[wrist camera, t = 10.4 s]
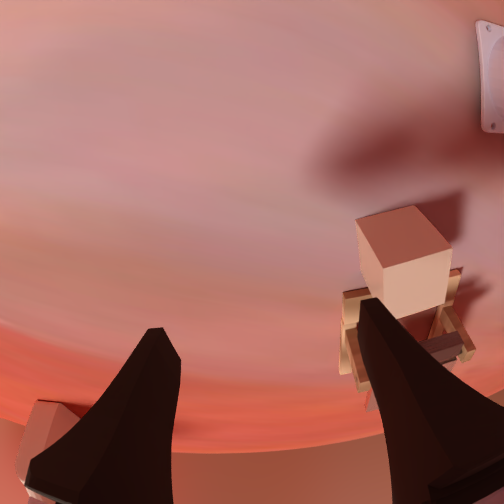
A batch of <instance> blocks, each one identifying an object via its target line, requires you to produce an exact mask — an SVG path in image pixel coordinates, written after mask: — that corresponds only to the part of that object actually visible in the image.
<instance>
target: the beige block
mask: <svg viewBox="0 0 504 504" xmlns="http://www.w3.org/2000/svg"><path fill="white" fill-rule="evenodd" d="M355 223H356V231H357V239H358V248H359V258H360V268H361V273H362V275H363V277H364V279H365V282H366V284H367V286H368V288H369V291H370V293H371V295H372V297H373V298H374V297H377V298H378V299H379V300H380V301H381V302H382V303H383V304H384V305H385V307H386V308H387V309H388V310H389V311H390V312H391V314H392V315H393V316H394V317H395V318H396V319H399V318H402V317H405V316H408V315H411V314H414V313H418V312H421V311H424V310H426V309H429V308H432V307H435V306H438V305H441V304H444V303H445V297H446V292H447V286H448V279H449V273H450V266H451V258H452V250H453V248H452V247H451V245H450V244H449V243H448V242H447V241H446V239H445V238H444V237H443V236H442V235H441V234H440V233H439V231H438V230H437V229H436V228H435V227H434V226H433V225H432V224H431V223H430V221H429V220H428V219H427V218H426V217H425V216H424V215H423V214H422V213H421V212H420V211H419V210H418V209H417V207H416V206H415V205H412V206H408V207H404V208H400V209H396V210H392V211H388V212H384V213H380V214H376V215H372V216H368V217H364V218H360V219H356V220H355Z"/></svg>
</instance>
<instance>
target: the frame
mask: <svg viewBox="0 0 504 504" xmlns="http://www.w3.org/2000/svg"><path fill="white" fill-rule="evenodd" d="M460 277H461V274H460V272H459V271H458V270H457V269H455V270H451V271H450V273H449V279H448V286H447V292H446V297H445V303H444V304H441V305H438V308H437V311H436V315H435V318H434V321H433V324H432V327H431V330H430V333H429V336H428V339H430V338H434V337H437V336H441V335H442V334H443V331H444V330H445V331H446V333H451V332H454V331H458V333H459V334H460V336H461V338H462V340H463V342H464V345H463V347H462V349H461V351H460V353H459V355H458V357H459V359H460V361H461V363H464V362H466V361H469V360H471V358H472V356H473V354H474V352H475V350H476V348H475V346H474V344H473V342H472V340H471V338H470V337H469V335H468V333H467V331H466V330H465V328H464V326H463V324H462V323H461V321H460V319H459V318H458V316H457V314H456V313H455V311H454V309H453V308H452V306H453V303H454V297H455V294H456V291H457V288H458V284H459V281H460ZM369 298H373V297H372V295H371V293H370V291H369V288H365V289H359V290H354V291H348V292H343V308H342V318H341V334H340V354H339V373H340V375H342V374H347V373H351V370H352V371H353V375H354V379H355V383H356V387H357V391H358V393H360V392H364V391H369V390H370V388H371V384H370V381H369V378H368V375H367V372H366V369H365V366H364V364H363V360H362V356H361V352H360V347H359V343H358V339H357V334H358V332H357V329H356V324H357V322H359V312H360V300H364V299H369Z"/></svg>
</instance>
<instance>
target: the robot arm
mask: <svg viewBox="0 0 504 504" xmlns="http://www.w3.org/2000/svg"><path fill="white" fill-rule="evenodd" d="M475 26H476V33H477V41H478V50H479V61H480V77H481V128H482V130H483V131H485V132H487V133H504V27H503V26H500V25H497V24H493V23H490V22H487V21H484V20H477V21H476V23H475ZM486 26H487V28H488V31H487V28H486ZM491 124H492V127H491ZM357 339H358V343H359V347H360V352H361V356H362V360H363V364H364V366H365V369H366V372H367V375H368V378H369V381H370V384H371V387H372V390H373V393H374V396H375V399H376V402H377V405H378V408H379V411H380V414H381V418H382V423H383V428H384V433H385V438H386V444H387V450H388V457H389V465H390V474H391V484H392V501H393V504H504V407H502V406H500V405H499V404H497V403H495V402H493V401H492V400H490V399H488V398H487V397H485V396H483V395H482V394H480V393H479V392H477V391H476V390H474V389H473V388H471V387H470V386H469V385H467V384H466V383H464V382H463V381H461V380H460V379H459V378H458V377H456V376H455V375H454V374H452V373H451V372H450V371H449V370H448V369H446V368H445V367H444V366H443V365H442V364H440V363H439V362H438V361H437V360H436V359H435V358H434V357H433V356H432V355H431V354H430V353H428V352H427V351H426V350H425V349H424V348H423V347H422V346H421V345H420V344H419V343H418V342H417V341H416V340H415V339H414V338H413V337H412V335H411V334H410V333H409V332H408V331H407V330H406V329H405V328H404V327H403V326H402V325H401V324H400V323H399V321H398V320H397V319H396V318H395V317H394V316H393V315H392V314H391V312H390V311H389V310H388V309H387V308H386V307H385V305H384V304H383V303H382V302H381V301H380V300H379V299H378V298H377V297H374V298H369V299H364V300H360V312H359V324H358V334H357ZM180 376H181V359H180V357H179V356H178V354H177V352H176V350H175V349H174V347H173V345H172V343H171V342H170V340H169V338H168V336H167V334H166V332H165V331H164V329H163V327H162V328H151V329H148V330H147V331H146V333H145V334H144V336H143V337H142V339H141V340H140V342H139V343H138V345H137V346H136V348H135V349H134V351H133V352H132V354H131V355H130V357H129V358H128V360H127V361H126V363H125V364H124V366H123V367H122V369H121V370H120V371H119V373H118V374H117V376H116V377H115V378H114V380H113V381H112V383H111V384H110V385H109V387H108V388H107V389H106V391H105V392H104V393H103V395H102V396H101V397H100V398H99V400H98V401H97V402H96V403H95V404H94V405H93V407H92V408H91V409H90V410H89V411H88V412H87V413H86V414H85V415H84V416H83V417H82V418H81V419H80V420H79V421H78V422H77V423H76V424H75V425H74V426H73V427H72V428H71V429H70V430H69V431H68V432H67V433H66V434H65V435H63V436H62V437H61V438H60V439H59V440H57V441H56V442H55V443H54V444H52V445H51V446H50V447H48V448H47V449H45V450H44V451H43V452H41V453H40V454H38V455H37V456H35V457H34V458H32V459H31V460H30V463H29V467H28V471H27V475H26V479H25V483H24V486H25V487H26V488H28V489H29V490H31V491H33V492H35V493H37V494H39V495H42V496H44V497H46V498H48V499H50V500H53V501H55V504H173V495H172V479H171V443H172V432H173V426H174V419H175V413H176V407H177V401H178V394H179V388H180ZM28 504H47V503H45V502H42V501H40V500H38V499H36V498H33V497H29V501H28Z"/></svg>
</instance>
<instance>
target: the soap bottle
mask: <svg viewBox="0 0 504 504" xmlns="http://www.w3.org/2000/svg"><path fill="white" fill-rule="evenodd" d="M79 420H80V418H79V417H78V416H76V415H75V414H74V413H73V412H71V411H70V410H69V409H68V408H66V407H65V406H64V405H63V404H62V403H55V402H45V401H36V402H35V403H34V406H33V409H32V411H31V414H30V417H29V420H28V422H27V425H26V429H25V431H24V434H23V438H22V441H21V444H20V447H19V451H18V454H17V457H16V463H15V468H16V473H17V475H18V477H19V479H20V480H21V481H22V483H23V484H24V483H25V479H26V475H27V471H28V467H29V463H30V460H31V459H32V458H34V457H35V456H37V455H38V454H40V453H41V452H43V451H44V450H45V449H47V448H48V447H50V446H51V445H52V444H54V443H55V442H56V441H57V440H59V439H60V438H61V437H62V436H63V435H65V434H66V433H67V432H68V431H69V430H70V429H71V428H72V427H73V426H74V425H75V424H76V423H77V422H78V421H79ZM25 488H26V487H25ZM26 490H27V492H28V494H29V496H30V497H33V498H36V499H38V500H40V501H42V502H45V503H47V504H55V501H53V500H50V499H48V498H46V497H44V496H42V495H39V494H37V493H35V492H33V491H31V490H29V489H28V488H26Z"/></svg>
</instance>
